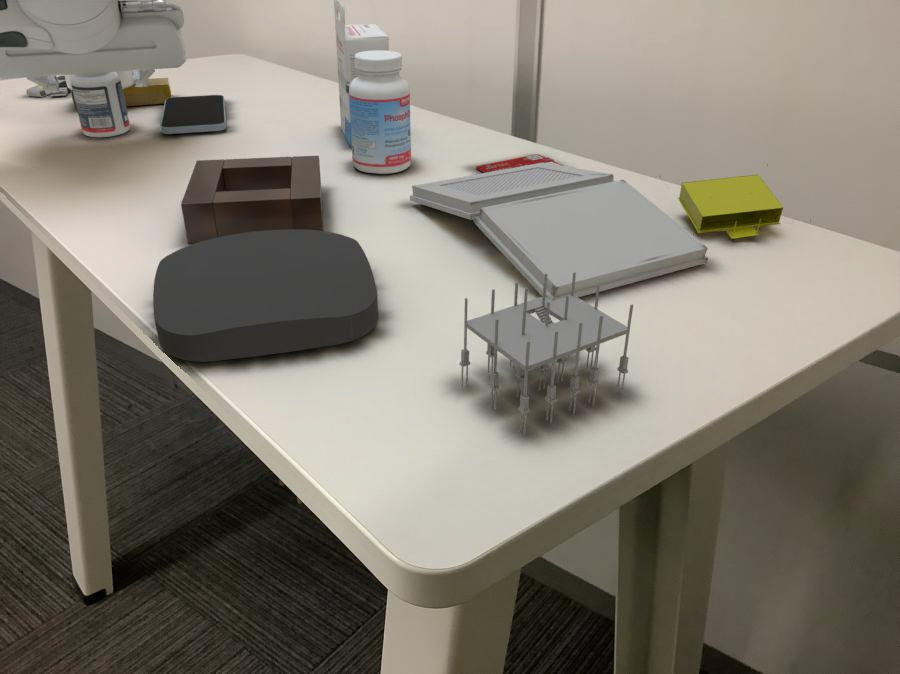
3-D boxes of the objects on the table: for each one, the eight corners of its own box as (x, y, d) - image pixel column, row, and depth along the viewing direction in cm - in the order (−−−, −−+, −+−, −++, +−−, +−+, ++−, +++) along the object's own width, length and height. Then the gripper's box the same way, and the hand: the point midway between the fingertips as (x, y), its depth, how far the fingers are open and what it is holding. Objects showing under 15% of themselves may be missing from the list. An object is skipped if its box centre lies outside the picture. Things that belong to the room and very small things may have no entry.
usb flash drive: (73, 74, 115) (75, 81, 115) (34, 76, 114) (36, 84, 114) (66, 89, 108) (68, 96, 108) (24, 91, 106) (26, 99, 107)
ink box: (394, 145, 90) (389, 5, 83) (350, 148, 89) (341, 6, 82) (380, 124, 97) (375, -6, 90) (339, 127, 96) (331, -5, 89)
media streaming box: (156, 375, 49) (147, 333, 48) (165, 273, 62) (158, 237, 60) (389, 343, 53) (387, 303, 51) (354, 252, 65) (352, 218, 63)
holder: (187, 243, 67) (180, 203, 65) (202, 196, 76) (196, 160, 74) (323, 236, 68) (320, 196, 66) (321, 190, 78) (318, 155, 76)
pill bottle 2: (398, 178, 81) (395, 63, 75) (343, 171, 82) (336, 58, 77) (419, 160, 86) (418, 50, 80) (367, 154, 87) (362, 46, 82)
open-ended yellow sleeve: (659, 175, 72) (655, 202, 74) (694, 235, 65) (689, 263, 67) (767, 163, 72) (760, 190, 74) (813, 222, 66) (804, 249, 68)
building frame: (457, 384, 49) (458, 297, 46) (559, 347, 53) (566, 264, 50) (521, 437, 44) (527, 344, 41) (626, 392, 48) (639, 304, 45)
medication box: (77, 104, 105) (74, 111, 102) (72, 83, 104) (69, 89, 101) (172, 97, 108) (173, 103, 105) (169, 76, 107) (169, 82, 104)
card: (564, 168, 83) (537, 156, 87) (565, 164, 83) (537, 152, 87) (500, 182, 80) (474, 169, 84) (500, 178, 80) (474, 165, 83)
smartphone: (224, 94, 106) (226, 123, 93) (225, 101, 106) (227, 131, 94) (165, 97, 104) (159, 128, 92) (166, 104, 105) (160, 135, 92)
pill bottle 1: (110, 123, 97) (94, 46, 93) (140, 129, 95) (125, 51, 91) (72, 133, 93) (54, 54, 89) (102, 140, 91) (85, 59, 87)
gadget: (707, 263, 63) (715, 220, 62) (551, 305, 57) (555, 259, 55) (543, 177, 81) (545, 141, 79) (409, 202, 74) (408, 164, 73)
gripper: (176, -27, 82) (188, 54, 95) (-48, -19, 76) (-3, 66, 89) (185, 27, 80) (196, 102, 93) (-42, 38, 75) (2, 116, 88)
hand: (97, 84), depth 91 cm, fingers open, 8 cm apart
